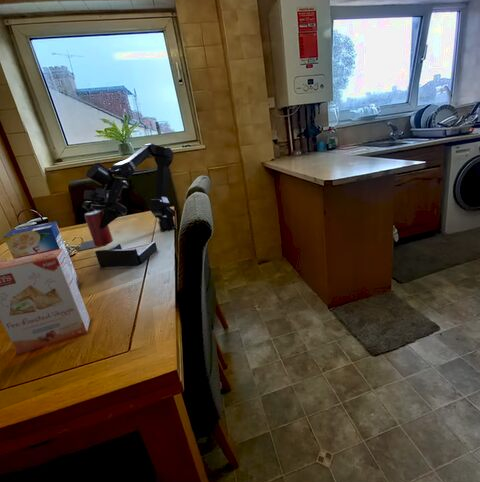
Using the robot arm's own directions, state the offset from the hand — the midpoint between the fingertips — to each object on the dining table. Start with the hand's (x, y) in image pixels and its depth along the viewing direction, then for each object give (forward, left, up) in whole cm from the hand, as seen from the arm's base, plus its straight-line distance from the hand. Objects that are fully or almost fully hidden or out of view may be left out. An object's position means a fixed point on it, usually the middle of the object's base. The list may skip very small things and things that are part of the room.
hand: (95, 228), depth 104 cm
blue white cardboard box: (+15, +17, -14) cm, 27 cm away
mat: (+2, -26, -13) cm, 29 cm away
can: (-1, -1, -7) cm, 7 cm away
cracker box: (+15, +42, -14) cm, 47 cm away
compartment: (-8, +7, -13) cm, 17 cm away
